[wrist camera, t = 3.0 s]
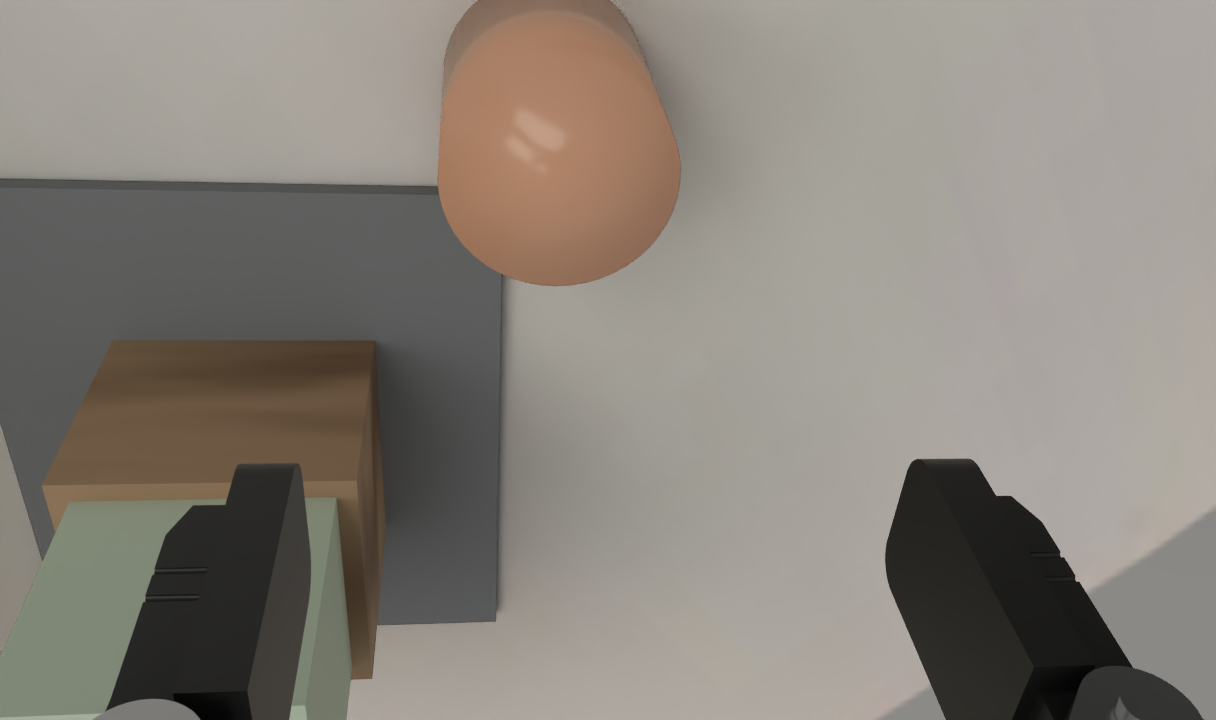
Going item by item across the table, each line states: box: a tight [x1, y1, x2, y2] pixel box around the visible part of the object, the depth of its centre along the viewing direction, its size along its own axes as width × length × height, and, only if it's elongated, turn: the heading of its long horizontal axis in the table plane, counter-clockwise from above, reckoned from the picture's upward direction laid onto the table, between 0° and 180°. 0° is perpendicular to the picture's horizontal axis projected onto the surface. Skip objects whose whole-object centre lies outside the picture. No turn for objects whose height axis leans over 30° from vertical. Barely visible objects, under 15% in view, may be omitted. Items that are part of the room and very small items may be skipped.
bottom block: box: [42, 340, 386, 679], centre depth 30 cm, size 7×7×6 cm
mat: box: [0, 179, 502, 625], centre depth 32 cm, size 16×14×1 cm
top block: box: [0, 497, 352, 720], centre depth 25 cm, size 6×6×6 cm
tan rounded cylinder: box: [438, 0, 681, 286], centre depth 25 cm, size 5×5×6 cm
